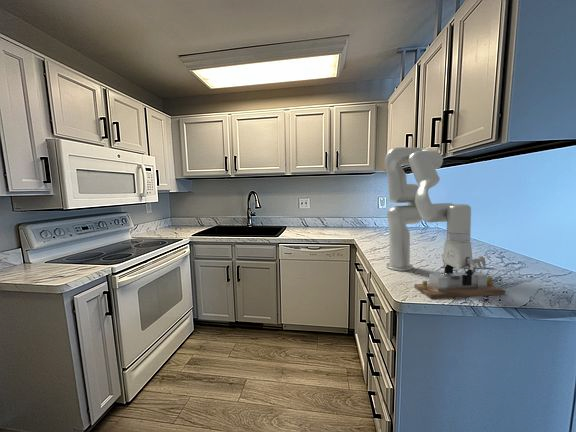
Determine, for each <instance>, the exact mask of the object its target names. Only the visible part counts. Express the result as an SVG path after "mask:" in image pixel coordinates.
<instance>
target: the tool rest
mask: <svg viewBox="0 0 576 432" xmlns="http://www.w3.org/2000/svg"><path fill="white" fill-rule="evenodd" d="M413 286H414V289H416V290H417V291H419V292H420V293H421V294H423V295H425V296H426V297H428V298H429V299H434V300H435V299H448V298H450V299H451V298H465V297H478V296H479V297H481V296H496V295H505V294H506V293H505V290H504V289H502V288H500V287H497V286H496V285H493V277H492V276H487V288H482V289H477V288H463V289H447V291H437V290H435V289H434V288H432V287H430V286H429V282H428V281H427V280H422V282H421V283H414V285H413Z"/></svg>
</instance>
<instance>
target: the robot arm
mask: <svg viewBox="0 0 576 432" xmlns="http://www.w3.org/2000/svg"><path fill="white" fill-rule="evenodd" d="M443 163H444V159H443V156H442V154H441V153H440V152H439V151H437V150H433V149H428V148H423V147H414V146H413V147H412V146H411V147H410V146H409V147H408V146H407V147H406V146H405V147H402V146H399V147H393V148H391V149H390V150H388V152H387V153H386V155H385V158H384V168H385V171H386V176H387V184H388V198H389V200H390V202H391V203H394V204H407V205H395V206H391V207H390V208H388V211H387V213H386V218H387V222H388V231H389V235H388V236H389V237H388V239H389V240H388V241H389V243H388V245H389V248H388V249H389V251H388V253H389V254H388V255H389V256H388V259H389V262H387V263H386V265H385V267H386V268H387V269H389V270H393V271H397V272H398V271H400V272H403V271H405V272H406V271H411V270H414V266H413V264H411V255H410V254H411V252H410V249H411V247H410V245H411V243H410V242H411V237H410V236H411V234H410V230H409V228H408V227H407V225H414V224H419V223H420V222H422V221H424V222H426V223H445V222H446V239H445V241H444V246H443V253H442V254H441V257H442V262H443V265H444V267H445V268H444V267H443V268H444V274H445V273H454V268H455V269H458V270H461V273H463V274H464V275H462V285H463V286H469V285H471V284H472V275H473V273H474V272H475V271H477V268H478V265H477V263H476V264H475V263H474V262H473V261H472V259H473V251H472V243H471V233H472V232H471V226H472V225H471V223H472V207H471V206H470V205H469V204H461V203H460V204H459V203H449V202H444V203H441V202H440V203H439V202H438V203H433V202H432V201H431V199H430V196H429V190H430V189H432V188H433V187H435V186H436V185H437V184H438V183H439V182H440V176H439V174H438V171H437V170H438V169H439V168H441V167H442V165H443ZM401 166H409V167H410V169H411V172H412V174H413V177H414V179H415V182H416V183H417V184H416V183H408V182H407V174H406V172H405V171H404V169H403V167H401Z"/></svg>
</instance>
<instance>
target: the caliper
mask: <svg viewBox="0 0 576 432" xmlns="http://www.w3.org/2000/svg"><path fill="white" fill-rule="evenodd" d="M472 261H473V262H474V263H475V264H476V266H477V267H478V268H480V269H481V268H484V269H485V268H486V258H485V257H484V256H483V254H482V255H478V257H474V258H472ZM440 268H442V269H445V267H444V264H442V265H440Z"/></svg>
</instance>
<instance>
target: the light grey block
mask: <svg viewBox="0 0 576 432" xmlns="http://www.w3.org/2000/svg"><path fill="white" fill-rule="evenodd" d="M428 274H429V277H428V279H429V280H428V283H429V286H430V287H432V288H434V289H435V290H437V291H447V289H463V288H477V289H482V288H487V277H488V274H484V273H482V272H479V271H477V270H475V272H474V273H473V275H472V284H471V285H469V286H463V285H462V275H464V274H463V272H453V273H445V272H444V273H438V272H432V273H431V272H430V273H428Z"/></svg>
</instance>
